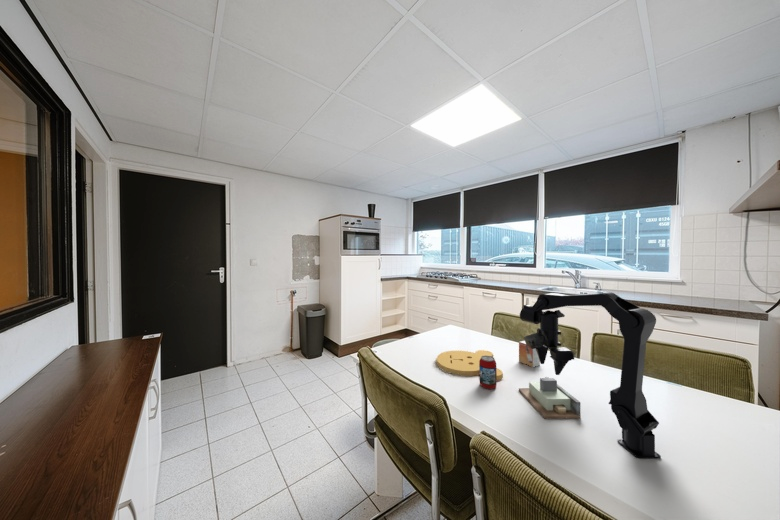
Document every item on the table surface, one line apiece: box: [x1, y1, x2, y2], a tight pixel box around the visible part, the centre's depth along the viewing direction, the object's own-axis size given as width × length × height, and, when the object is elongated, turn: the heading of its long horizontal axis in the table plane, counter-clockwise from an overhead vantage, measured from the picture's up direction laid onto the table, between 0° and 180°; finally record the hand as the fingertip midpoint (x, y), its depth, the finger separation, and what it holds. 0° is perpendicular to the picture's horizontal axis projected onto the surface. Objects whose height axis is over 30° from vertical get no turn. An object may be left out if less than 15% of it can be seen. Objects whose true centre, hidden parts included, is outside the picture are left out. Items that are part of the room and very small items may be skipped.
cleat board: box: [518, 376, 581, 420], centre depth 95 cm, size 18×12×6 cm, turn 179°
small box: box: [518, 340, 541, 368], centre depth 130 cm, size 8×6×10 cm
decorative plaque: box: [436, 349, 504, 381], centre depth 131 cm, size 31×3×30 cm
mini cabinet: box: [528, 377, 570, 410], centre depth 95 cm, size 12×8×8 cm, turn 179°
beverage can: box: [479, 356, 497, 390], centre depth 109 cm, size 7×7×12 cm
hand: (549, 369), depth 95 cm, fingers open, 9 cm apart
